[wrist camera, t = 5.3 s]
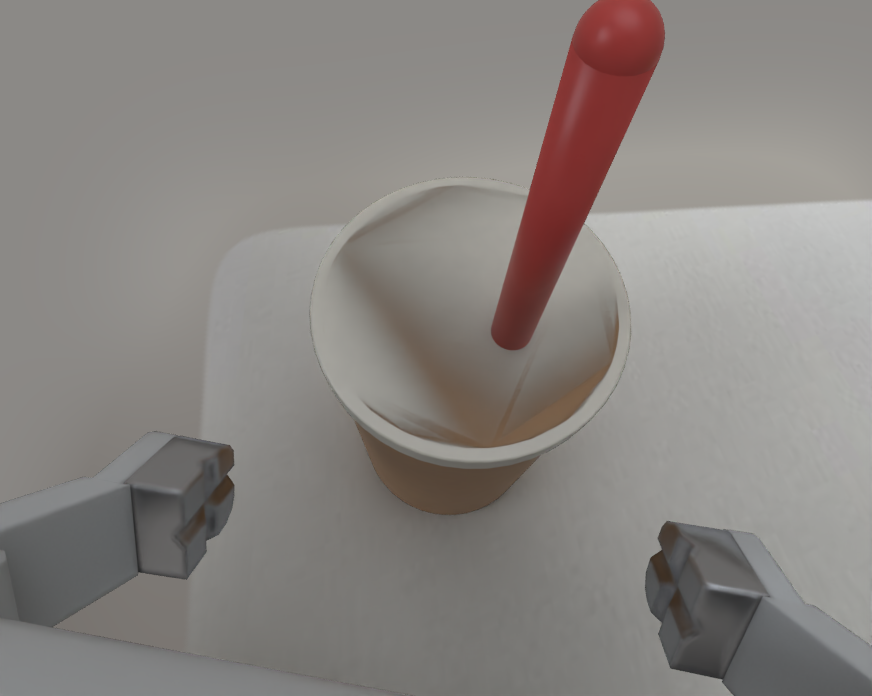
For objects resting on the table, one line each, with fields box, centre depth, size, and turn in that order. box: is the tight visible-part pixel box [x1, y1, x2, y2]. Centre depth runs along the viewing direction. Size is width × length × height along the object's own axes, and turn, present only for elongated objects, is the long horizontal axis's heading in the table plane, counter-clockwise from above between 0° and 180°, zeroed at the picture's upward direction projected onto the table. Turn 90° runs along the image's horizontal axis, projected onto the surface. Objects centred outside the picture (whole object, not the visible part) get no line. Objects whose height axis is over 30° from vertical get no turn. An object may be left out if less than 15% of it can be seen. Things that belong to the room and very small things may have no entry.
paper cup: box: [310, 0, 665, 515], centre depth 12 cm, size 6×6×16 cm
